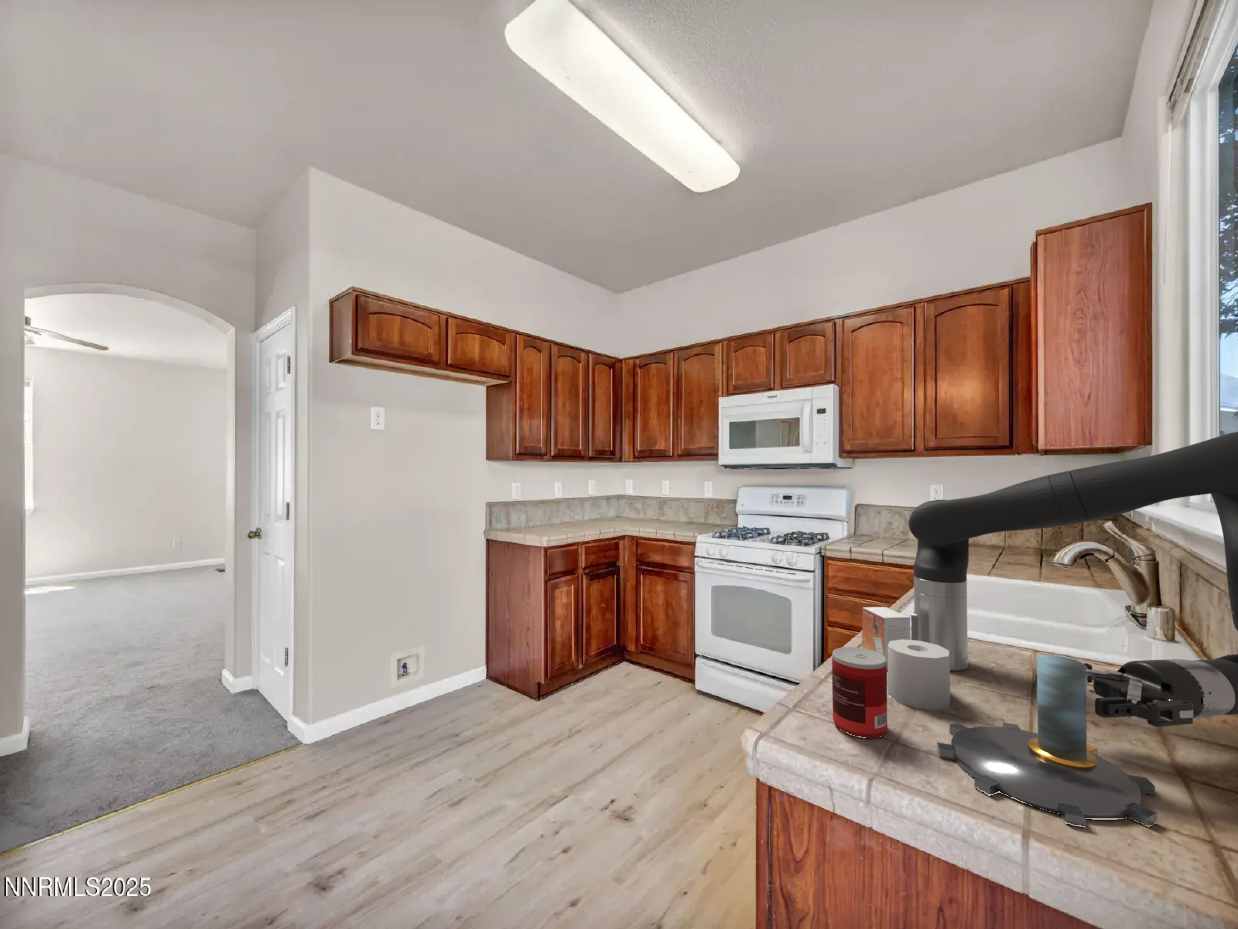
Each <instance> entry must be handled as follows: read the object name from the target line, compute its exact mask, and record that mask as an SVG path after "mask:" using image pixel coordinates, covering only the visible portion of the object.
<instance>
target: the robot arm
mask: <svg viewBox="0 0 1238 929" xmlns="http://www.w3.org/2000/svg"><path fill="white" fill-rule="evenodd" d="M1203 495H1210V496H1211V498H1212V501H1213V503H1214V505H1215V508H1216V512H1217V515H1218V517H1219V518H1218V519H1219V522H1220V526H1221V530H1222V531H1221V532H1222V537H1223V544H1224V546H1223V547H1224V553H1225V554H1224V555H1225V556H1224V557H1225V568H1226V580H1227V589H1228V591H1227V592H1228V597H1229V602H1230V610H1231V611H1230V612H1231V616H1232V622H1233V625H1234V628H1235V630H1236V631H1237V632H1238V431H1235V432H1230V433H1226V434H1223V435H1220V436H1216V437H1213V438H1210V439H1206V440H1203V441H1199V442H1197V443H1194V444H1193V443H1192V444H1191V445H1186V446H1182V447H1179V448H1176V449H1172V450H1169V451H1168V450H1167V451H1165V452H1162V453H1158V454H1154V455H1153V454H1152V455H1150V456H1149V455H1148V456H1144V457H1139V458H1132V459H1126V460H1121V461H1114V462H1108V463H1102V464H1097V465H1092V466H1087V467H1081V468H1077V469H1076V468H1075V469H1071V470H1066V471H1062V472H1061V471H1060V472H1057V473H1051V474H1049V475H1048V474H1047V475H1043V476H1040V477H1036V478H1032V479H1029V480H1025V481H1023V482H1019V483H1015V484H1013V485H1009V486H1006V487H1003V488H999V489H997V490H994V491H991V492H988V493H984V494H979V495H976V496H975V495H974V496H970V497H969V496H968V497H961V498H955V499H954V498H953V499H934V500H929V501H925V502H923V503H921V504H919V505H918V506H917V507H915V509H913V511H912V512H911V514H910V516H909V520H908V528H909V532H910V533H911V534H912V535H913V537H914V538H915V539H916V540H917V552H916V556H915V557H916V558H915V561H914V563H913V600H914V602H913V603H914V604H913V605H914V607H913V613H911V615H910V640H916V641H923V642H927V643H931V644H936V645H939V646H941V647H943V648H945V649H947V650H948V651H949V659H950V671H963V670H966V669H968V667H969V665H968V664H969V663H968V662H969V655H968V651H969V650H968V646H969V645H968V643H969V641H968V591H967V590H968V589H967V588H968V586H967V585H968V569H969V568H968V567H969V561H970V558H969V557H970V556H969V555H970V553H969V552H970V550H969V548H970V545H969V544H970V539H972V538H976V537H980V536H981V537H982V536H985V535H990V534H995V533H1002V532H1004V533H1005V532H1016V531H1028V530H1029V531H1030V530H1038V529H1047V528H1056V527H1064V526H1070V525H1076V524H1077V525H1078V524H1081V523H1082V524H1083V523H1089V522H1094V521H1099V520H1103V519H1108V518H1112V517H1115V516H1119V515H1123V514H1126V513H1129V512H1133V511H1135V510H1138V509H1141V508H1144V507H1148V506H1151V505H1154V504H1157V503H1158V504H1159V503H1161V502H1165V501H1169V500H1174V499H1180V498H1186V497H1187V498H1188V497H1195V496H1203ZM1082 663H1083V662H1082ZM1083 664H1084V665H1085V666H1086V697H1094V698H1096V699H1094V713H1095V714H1096V716H1099V717H1101V718H1104V719H1106V718H1108V719H1109V718H1122V717H1123V718H1124V717H1128V719H1131V720H1135V721H1140V720H1142V719H1143V720H1146V723H1147V725H1150V726H1152V727H1157V728H1158V727H1160V728H1161V727H1172V726H1173V727H1174V726H1180V725H1181V726H1182V725H1191V724H1192V725H1193V724H1194V719H1209V718H1213V717H1217V716H1227V715H1228V716H1230V715H1238V653H1233V654H1226V655H1223V656H1220V657H1217V658H1214V659H1198V660H1197V659H1193V660H1192V659H1191V660H1190V659H1183V658H1181V659H1180V658H1171V659H1168V658H1167V659H1146V660H1142V659H1141V660H1131V661H1127V662H1126V663H1124V664H1122V666H1121V667H1120V668H1119V669H1118V670H1116V671H1115V670H1114V671H1113V670H1096V669H1093V665H1092V664H1089V663H1087V662H1084V663H1083ZM1090 683H1093V689H1088V684H1090ZM1035 687H1037V672H1036V673H1035Z"/></svg>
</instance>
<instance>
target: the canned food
mask: <svg viewBox="0 0 1238 929" xmlns="http://www.w3.org/2000/svg"><path fill="white" fill-rule="evenodd" d="M831 677H832V678H831V682H832V684H831V687H832V688H831V690H832V693H831V694H832V696H831V697H832V698H831V699H832V701H831V702H832V720H833V723H835V724H834V725H836V726H837V727H838V728H839V729H841V730H842V731H844V732H848V733H849V734H852V735H855V736H861V737H866V738H876V739H878V738H877V737H879V738H881V737H880V736H882V737H883V736H884V735H885V734H886V732H887V729H888V671H887V662H886V658H885V657H884V656H883V655H882V654H880V653H878V652H875V651H872V650H869V649H864V648H862V647H858V646H857V647H856V646H846V647H845V646H843V647H839V648H835V649H834V650H833V651H832V655H831ZM836 726H835V727H836ZM837 727H836V728H837ZM838 728H837V729H838ZM839 729H838V730H839ZM841 730H840V731H841ZM842 731H841V732H842ZM844 732H843V733H844Z"/></svg>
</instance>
